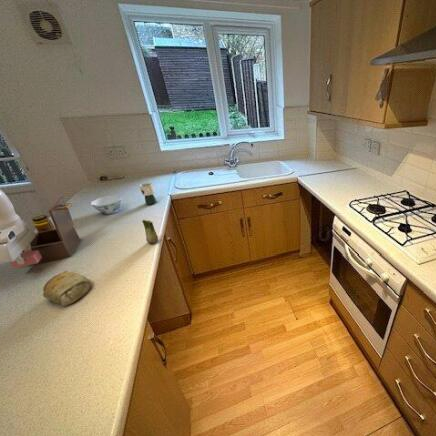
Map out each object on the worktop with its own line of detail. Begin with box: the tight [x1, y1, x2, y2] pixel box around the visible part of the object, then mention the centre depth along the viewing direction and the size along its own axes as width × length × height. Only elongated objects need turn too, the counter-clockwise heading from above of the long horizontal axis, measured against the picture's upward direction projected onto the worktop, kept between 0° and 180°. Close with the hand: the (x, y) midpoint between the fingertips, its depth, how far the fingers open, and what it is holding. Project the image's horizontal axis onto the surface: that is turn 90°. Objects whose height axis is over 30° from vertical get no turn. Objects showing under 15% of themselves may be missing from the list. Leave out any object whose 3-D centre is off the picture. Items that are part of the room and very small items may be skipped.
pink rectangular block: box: [9, 250, 42, 269], centre depth 95 cm, size 7×4×4 cm, turn 115°
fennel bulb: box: [141, 219, 159, 245], centre depth 113 cm, size 6×5×12 cm
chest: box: [21, 225, 81, 266], centre depth 108 cm, size 14×16×8 cm
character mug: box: [139, 182, 157, 205], centre depth 155 cm, size 11×7×13 cm, turn 37°
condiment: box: [31, 214, 56, 232], centre depth 118 cm, size 7×8×12 cm
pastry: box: [42, 270, 91, 307], centre depth 85 cm, size 14×12×8 cm
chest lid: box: [48, 196, 75, 241], centre depth 106 cm, size 14×16×4 cm
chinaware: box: [90, 195, 123, 215], centre depth 145 cm, size 15×15×8 cm
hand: (26, 258), depth 95 cm, fingers closed on pink rectangular block, 4 cm apart
